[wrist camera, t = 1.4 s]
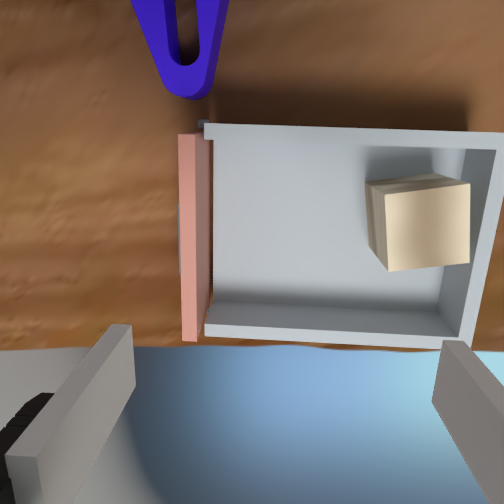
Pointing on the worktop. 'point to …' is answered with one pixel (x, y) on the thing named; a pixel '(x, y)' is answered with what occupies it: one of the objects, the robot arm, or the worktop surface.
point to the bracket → (167, 45)
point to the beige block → (418, 221)
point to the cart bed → (340, 235)
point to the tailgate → (194, 231)
